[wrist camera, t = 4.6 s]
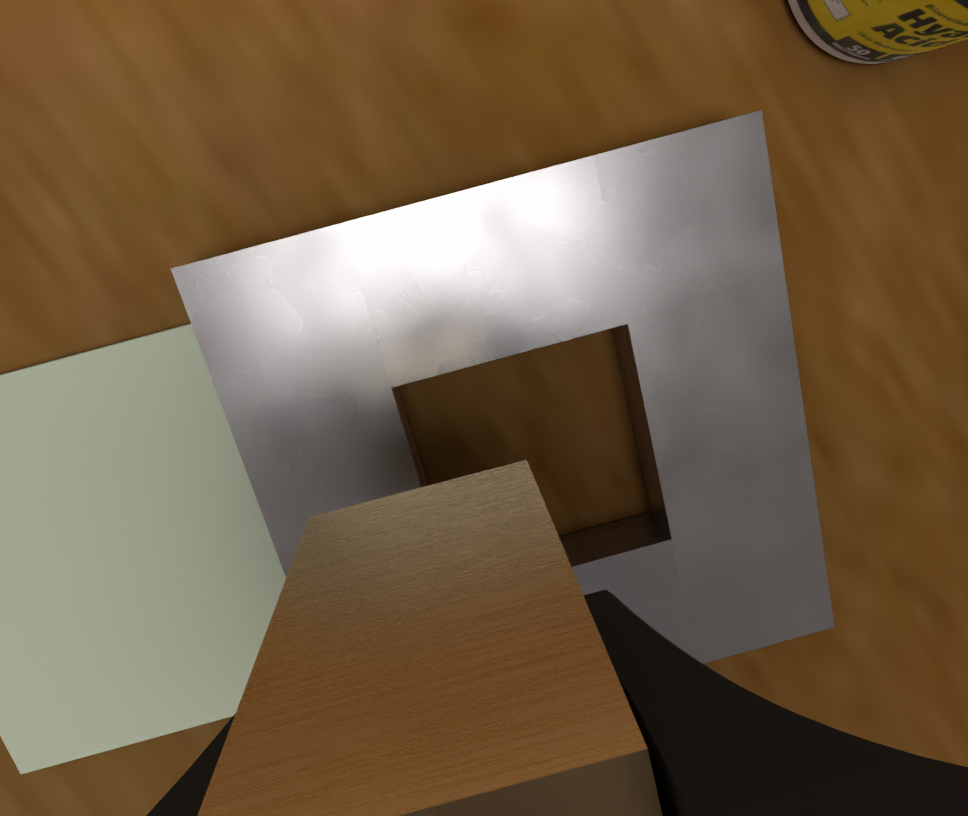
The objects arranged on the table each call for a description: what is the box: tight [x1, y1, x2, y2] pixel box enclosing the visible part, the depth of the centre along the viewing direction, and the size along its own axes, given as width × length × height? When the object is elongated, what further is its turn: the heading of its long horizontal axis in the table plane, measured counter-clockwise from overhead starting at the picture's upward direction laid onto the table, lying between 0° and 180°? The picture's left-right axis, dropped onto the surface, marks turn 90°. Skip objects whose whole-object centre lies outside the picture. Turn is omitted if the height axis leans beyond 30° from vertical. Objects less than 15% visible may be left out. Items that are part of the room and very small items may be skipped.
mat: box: [0, 323, 286, 774], centre depth 21 cm, size 12×10×1 cm
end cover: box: [198, 460, 662, 816], centre depth 11 cm, size 4×4×9 cm
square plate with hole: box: [171, 110, 834, 664], centre depth 21 cm, size 15×15×2 cm
